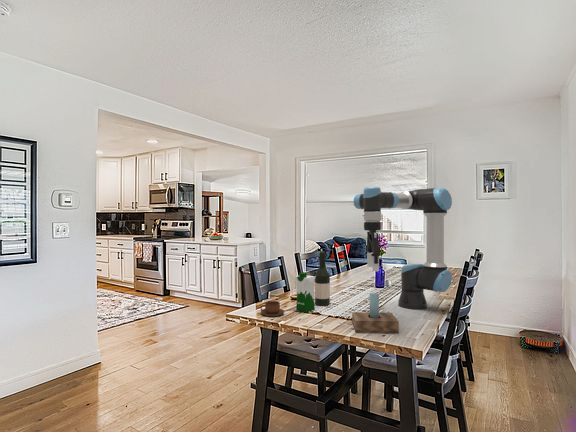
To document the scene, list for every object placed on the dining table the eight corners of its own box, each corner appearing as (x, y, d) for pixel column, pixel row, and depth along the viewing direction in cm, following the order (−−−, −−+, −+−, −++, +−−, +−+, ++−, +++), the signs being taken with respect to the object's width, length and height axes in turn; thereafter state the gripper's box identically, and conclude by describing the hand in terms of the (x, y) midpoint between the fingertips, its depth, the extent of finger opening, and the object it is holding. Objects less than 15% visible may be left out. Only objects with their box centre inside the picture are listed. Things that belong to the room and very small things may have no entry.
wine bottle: (329, 307, 202) (329, 252, 202) (313, 306, 203) (313, 251, 204) (330, 303, 210) (330, 250, 210) (315, 302, 211) (315, 250, 212)
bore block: (391, 323, 169) (391, 312, 170) (398, 333, 156) (398, 321, 156) (352, 323, 171) (352, 312, 171) (355, 332, 157) (355, 320, 157)
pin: (378, 324, 165) (378, 293, 165) (379, 327, 161) (379, 295, 161) (369, 324, 165) (368, 293, 165) (370, 326, 161) (370, 294, 161)
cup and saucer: (267, 319, 178) (267, 306, 178) (256, 314, 188) (256, 301, 188) (288, 316, 184) (288, 303, 184) (276, 310, 194) (276, 299, 194)
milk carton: (293, 310, 194) (293, 272, 194) (304, 307, 201) (304, 270, 201) (306, 313, 188) (306, 274, 188) (317, 310, 195) (317, 272, 195)
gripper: (360, 221, 178) (360, 265, 178) (368, 222, 153) (369, 273, 153) (375, 220, 178) (376, 264, 178) (386, 222, 153) (387, 273, 153)
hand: (373, 268), depth 166 cm, fingers open, 13 cm apart
